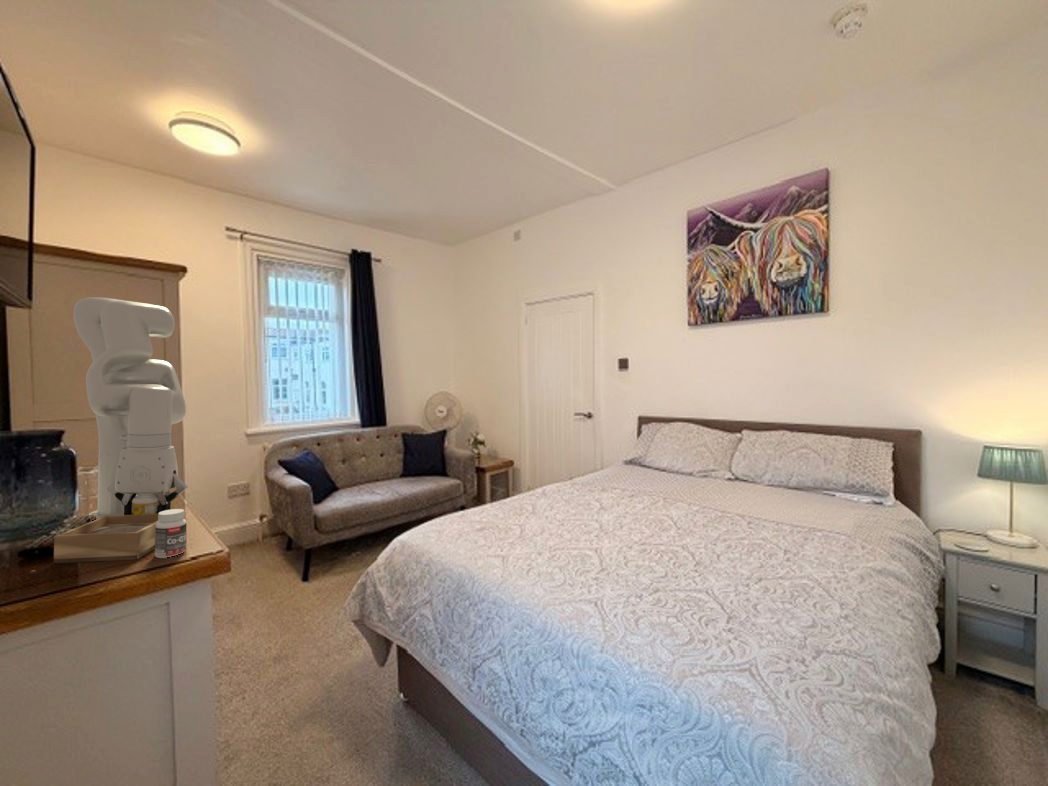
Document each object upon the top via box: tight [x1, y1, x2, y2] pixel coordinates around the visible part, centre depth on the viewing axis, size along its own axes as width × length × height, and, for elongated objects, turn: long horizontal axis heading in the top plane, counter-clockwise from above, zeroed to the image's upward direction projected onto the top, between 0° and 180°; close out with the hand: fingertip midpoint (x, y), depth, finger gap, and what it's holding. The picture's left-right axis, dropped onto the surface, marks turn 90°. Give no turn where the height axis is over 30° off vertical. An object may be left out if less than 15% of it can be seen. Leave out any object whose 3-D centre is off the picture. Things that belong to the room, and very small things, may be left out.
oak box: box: [53, 514, 160, 564], centre depth 87 cm, size 13×13×5 cm
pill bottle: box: [154, 508, 187, 559], centre depth 85 cm, size 5×5×8 cm
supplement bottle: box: [132, 493, 160, 515], centre depth 98 cm, size 5×5×10 cm
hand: (147, 520), depth 98 cm, fingers closed on supplement bottle, 5 cm apart
